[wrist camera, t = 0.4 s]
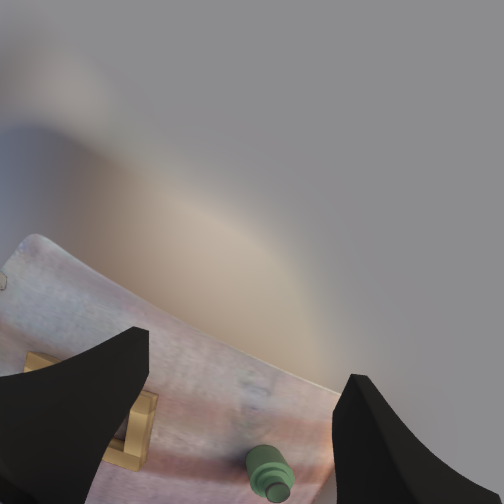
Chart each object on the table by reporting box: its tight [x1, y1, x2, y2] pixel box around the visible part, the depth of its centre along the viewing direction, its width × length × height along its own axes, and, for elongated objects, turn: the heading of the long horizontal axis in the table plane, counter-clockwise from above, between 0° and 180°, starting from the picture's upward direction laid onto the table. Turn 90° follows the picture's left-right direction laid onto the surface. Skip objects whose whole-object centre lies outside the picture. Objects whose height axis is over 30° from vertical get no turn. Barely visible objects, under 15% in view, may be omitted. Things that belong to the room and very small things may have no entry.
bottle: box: [246, 445, 294, 503], centre depth 27 cm, size 4×4×10 cm
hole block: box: [24, 351, 158, 472], centre depth 30 cm, size 9×17×4 cm, turn 79°
